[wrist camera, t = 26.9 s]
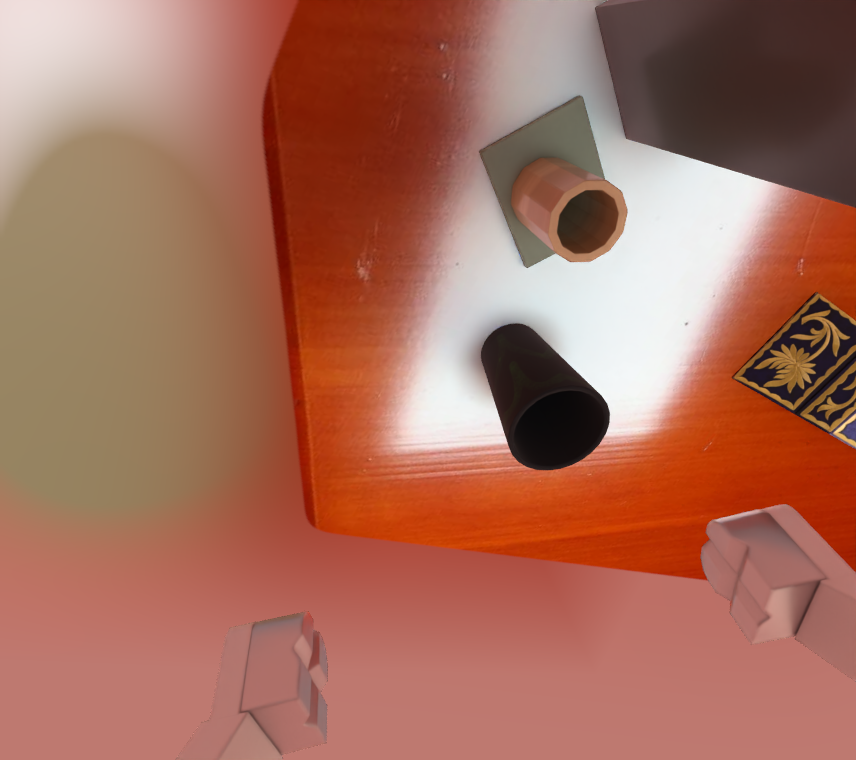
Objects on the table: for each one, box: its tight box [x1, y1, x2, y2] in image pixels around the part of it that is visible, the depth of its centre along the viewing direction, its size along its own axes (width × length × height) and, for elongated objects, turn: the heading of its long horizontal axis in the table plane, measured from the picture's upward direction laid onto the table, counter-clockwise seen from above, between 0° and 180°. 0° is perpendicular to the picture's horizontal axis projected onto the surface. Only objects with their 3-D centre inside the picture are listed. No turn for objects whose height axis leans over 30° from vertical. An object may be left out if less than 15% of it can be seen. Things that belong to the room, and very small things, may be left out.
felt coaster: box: [479, 96, 605, 268], centre depth 41 cm, size 10×8×1 cm
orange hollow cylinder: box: [511, 158, 627, 262], centre depth 37 cm, size 5×5×8 cm
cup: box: [481, 324, 610, 470], centre depth 43 cm, size 8×8×12 cm
